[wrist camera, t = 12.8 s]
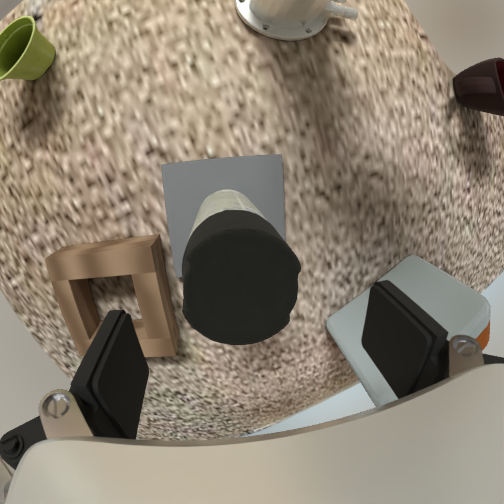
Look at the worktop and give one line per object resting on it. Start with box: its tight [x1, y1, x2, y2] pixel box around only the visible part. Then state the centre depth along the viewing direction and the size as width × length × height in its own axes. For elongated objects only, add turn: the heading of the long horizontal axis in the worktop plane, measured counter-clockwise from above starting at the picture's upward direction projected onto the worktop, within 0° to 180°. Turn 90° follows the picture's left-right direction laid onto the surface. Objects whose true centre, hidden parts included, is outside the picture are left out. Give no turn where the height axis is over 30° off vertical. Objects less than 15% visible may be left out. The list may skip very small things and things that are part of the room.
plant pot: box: [0, 16, 55, 81], centre depth 18 cm, size 9×9×9 cm
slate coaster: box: [161, 155, 285, 278], centre depth 33 cm, size 14×14×1 cm
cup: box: [453, 58, 504, 116], centre depth 25 cm, size 10×14×12 cm
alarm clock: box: [326, 255, 490, 407], centre depth 31 cm, size 18×9×21 cm, turn 125°
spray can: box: [182, 189, 301, 345], centre depth 23 cm, size 7×7×20 cm
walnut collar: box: [45, 235, 179, 357], centre depth 32 cm, size 15×15×5 cm
